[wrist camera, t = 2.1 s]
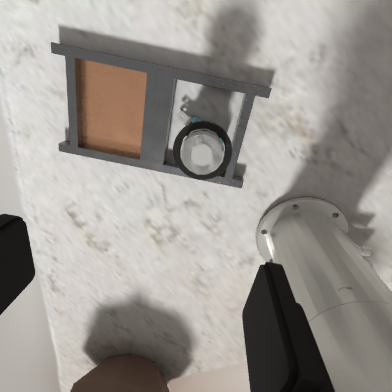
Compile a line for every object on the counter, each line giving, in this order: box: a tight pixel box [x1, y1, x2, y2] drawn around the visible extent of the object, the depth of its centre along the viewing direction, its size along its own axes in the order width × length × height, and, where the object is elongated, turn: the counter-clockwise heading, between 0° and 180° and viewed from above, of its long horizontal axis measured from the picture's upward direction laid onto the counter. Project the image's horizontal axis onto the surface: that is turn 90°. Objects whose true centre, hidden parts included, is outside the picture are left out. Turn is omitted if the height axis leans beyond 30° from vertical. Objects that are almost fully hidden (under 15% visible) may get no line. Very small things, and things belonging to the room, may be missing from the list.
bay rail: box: [51, 42, 272, 188], centre depth 28 cm, size 24×12×2 cm, turn 79°
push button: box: [173, 111, 232, 180], centre depth 25 cm, size 7×5×10 cm
